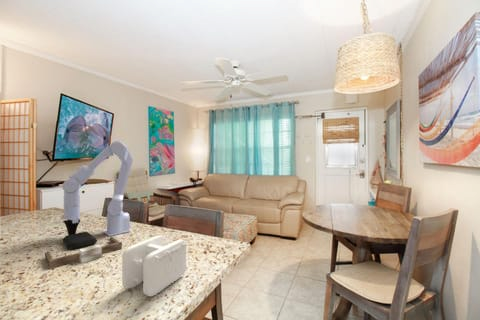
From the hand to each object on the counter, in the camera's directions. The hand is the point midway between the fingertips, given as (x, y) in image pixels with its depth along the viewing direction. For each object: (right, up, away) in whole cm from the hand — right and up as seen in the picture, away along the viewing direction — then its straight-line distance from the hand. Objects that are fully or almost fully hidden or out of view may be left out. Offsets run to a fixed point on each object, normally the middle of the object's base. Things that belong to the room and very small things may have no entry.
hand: (71, 235), depth 100 cm
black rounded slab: (+7, -2, -6) cm, 9 cm away
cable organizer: (+51, -2, -35) cm, 62 cm away
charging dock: (+18, -1, -16) cm, 24 cm away
